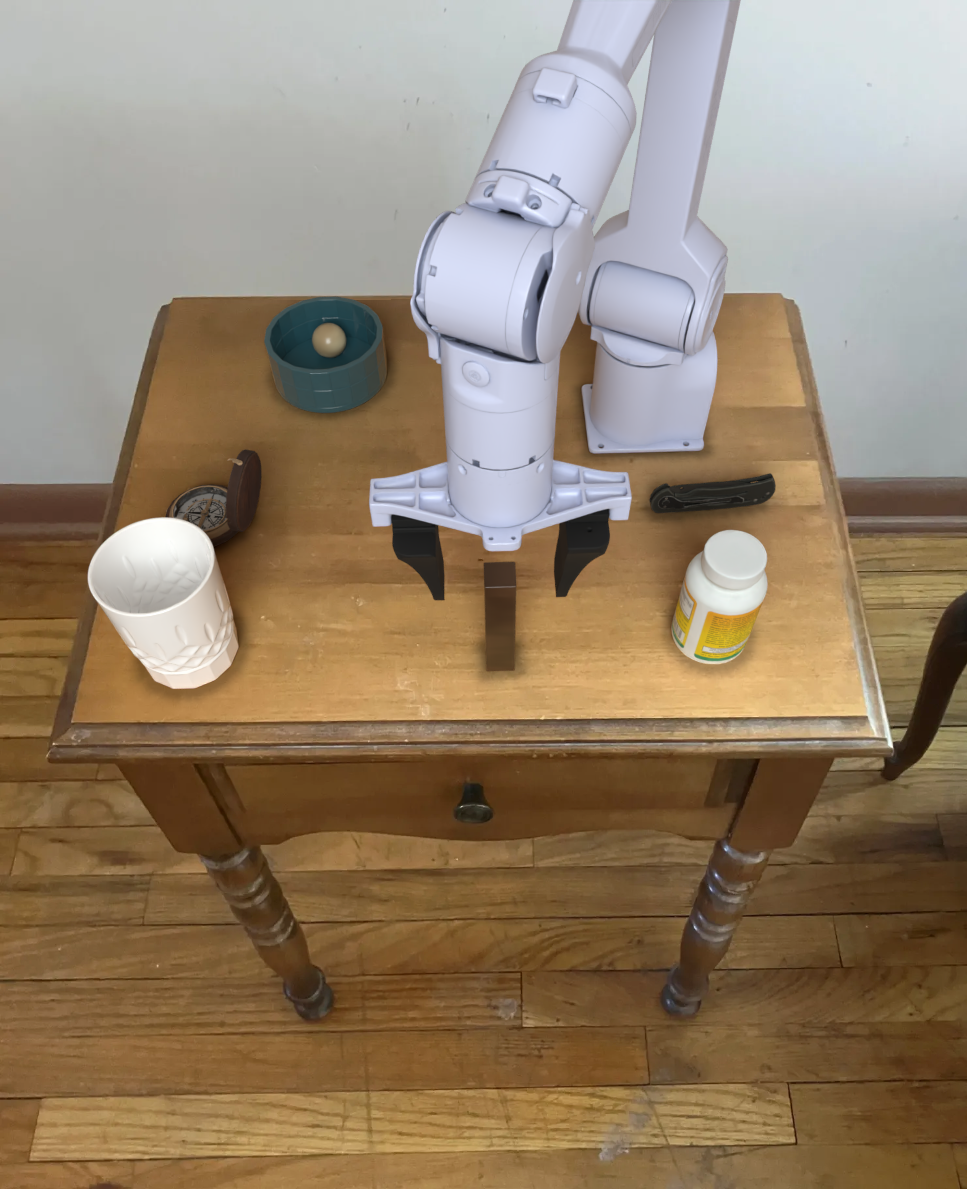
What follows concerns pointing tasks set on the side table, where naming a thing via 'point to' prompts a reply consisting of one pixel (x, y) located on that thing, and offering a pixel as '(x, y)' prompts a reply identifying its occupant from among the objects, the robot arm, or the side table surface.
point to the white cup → (167, 600)
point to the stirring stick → (500, 615)
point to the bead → (329, 340)
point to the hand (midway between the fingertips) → (499, 586)
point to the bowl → (321, 378)
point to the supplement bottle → (720, 598)
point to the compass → (223, 501)
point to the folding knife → (712, 495)
